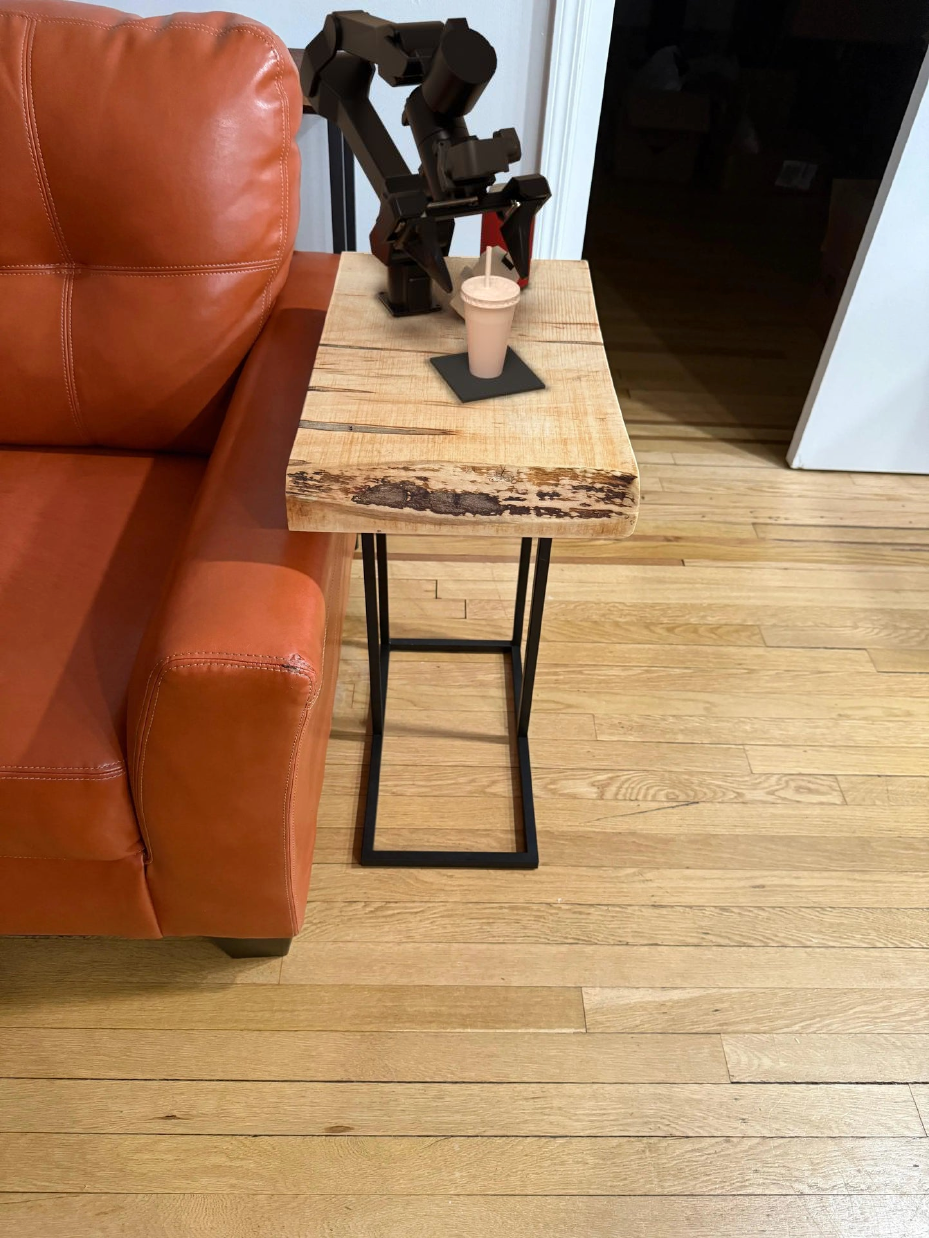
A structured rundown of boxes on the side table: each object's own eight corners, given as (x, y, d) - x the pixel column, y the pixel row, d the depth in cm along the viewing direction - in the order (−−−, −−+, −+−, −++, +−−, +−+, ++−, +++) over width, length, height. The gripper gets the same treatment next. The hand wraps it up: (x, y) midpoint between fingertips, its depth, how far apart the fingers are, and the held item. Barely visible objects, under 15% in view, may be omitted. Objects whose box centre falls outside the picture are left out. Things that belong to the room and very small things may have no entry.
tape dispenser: (473, 342, 114) (529, 289, 108) (434, 303, 112) (489, 247, 106) (483, 322, 118) (538, 270, 112) (446, 284, 116) (500, 229, 110)
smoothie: (446, 367, 104) (449, 243, 95) (487, 351, 108) (495, 229, 98) (483, 390, 101) (491, 263, 91) (525, 372, 104) (537, 248, 95)
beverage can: (529, 276, 125) (538, 183, 117) (527, 296, 120) (536, 201, 112) (480, 271, 125) (485, 179, 117) (476, 292, 120) (480, 197, 112)
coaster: (429, 360, 106) (429, 357, 106) (508, 348, 109) (508, 345, 109) (462, 402, 100) (462, 399, 99) (545, 388, 103) (545, 385, 102)
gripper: (384, 106, 86) (435, 266, 87) (552, 89, 93) (598, 237, 94) (354, 169, 97) (400, 312, 97) (507, 149, 104) (549, 283, 104)
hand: (488, 285), depth 98 cm, fingers open, 9 cm apart
